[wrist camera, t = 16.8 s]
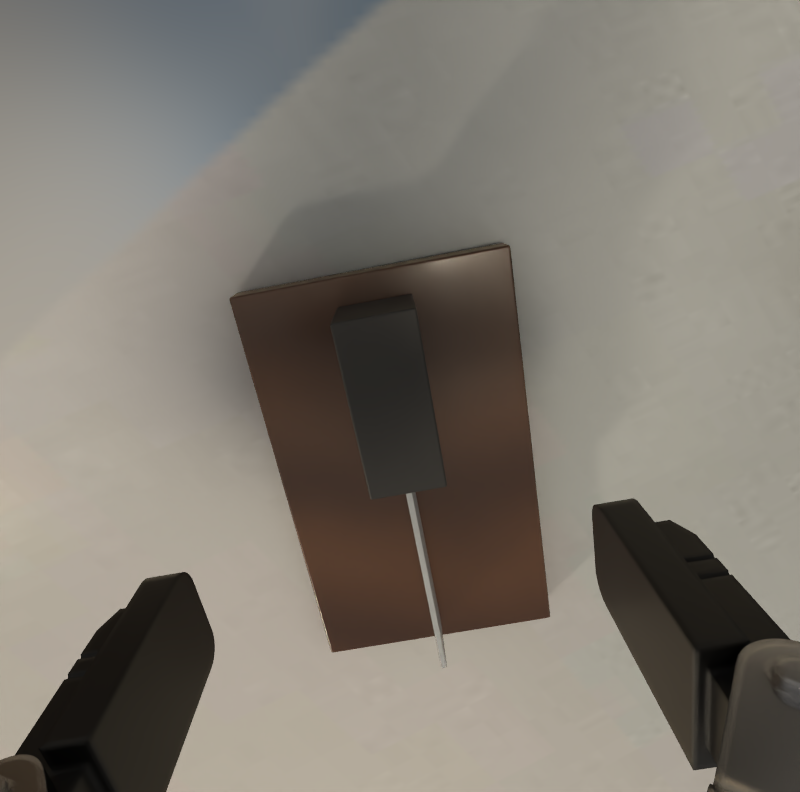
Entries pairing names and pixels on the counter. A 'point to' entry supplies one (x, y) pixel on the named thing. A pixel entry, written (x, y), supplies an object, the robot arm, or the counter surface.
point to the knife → (392, 411)
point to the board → (459, 440)
